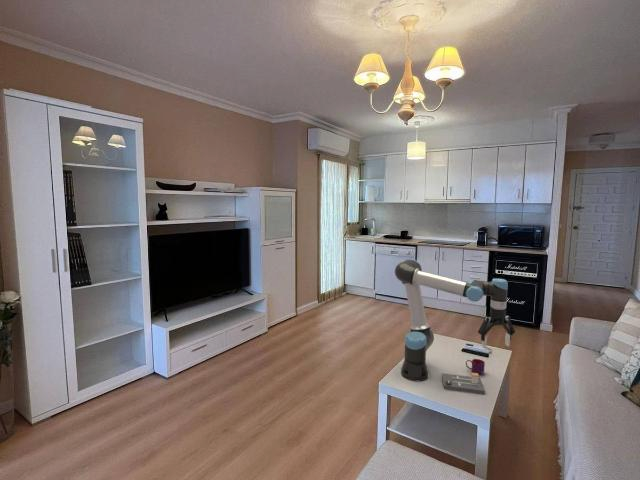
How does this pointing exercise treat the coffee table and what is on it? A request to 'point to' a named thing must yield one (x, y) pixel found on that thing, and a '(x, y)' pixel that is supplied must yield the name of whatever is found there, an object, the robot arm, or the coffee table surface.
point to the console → (462, 383)
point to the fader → (474, 378)
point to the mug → (477, 366)
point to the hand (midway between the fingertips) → (495, 346)
